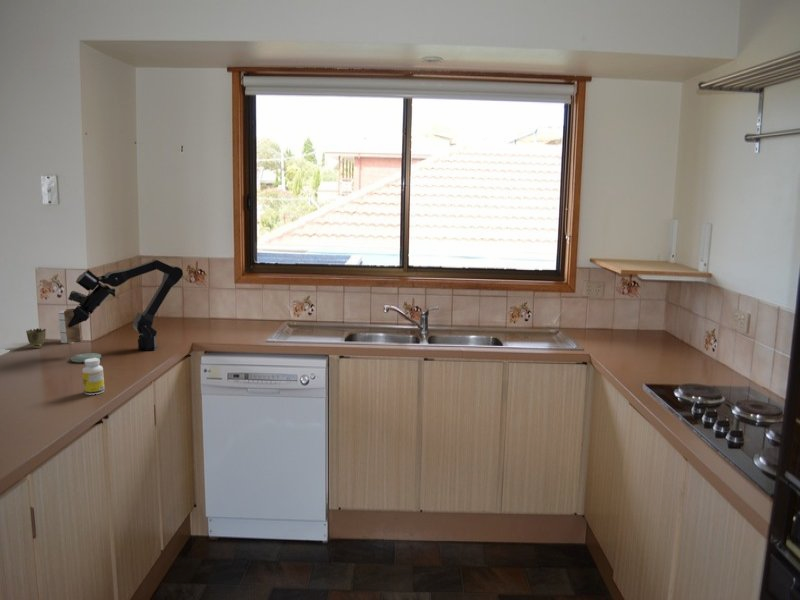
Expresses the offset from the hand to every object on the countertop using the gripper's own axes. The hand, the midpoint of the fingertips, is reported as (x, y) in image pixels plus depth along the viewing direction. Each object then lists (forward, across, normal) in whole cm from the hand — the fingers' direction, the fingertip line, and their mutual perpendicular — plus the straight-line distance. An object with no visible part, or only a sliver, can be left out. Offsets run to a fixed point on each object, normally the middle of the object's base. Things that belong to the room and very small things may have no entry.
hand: (69, 325), depth 271 cm
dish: (+5, +6, +14) cm, 16 cm away
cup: (+22, -21, -2) cm, 30 cm away
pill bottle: (-1, +53, +20) cm, 57 cm away
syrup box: (+13, -29, +6) cm, 32 cm away
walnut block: (+4, 0, +6) cm, 7 cm away
